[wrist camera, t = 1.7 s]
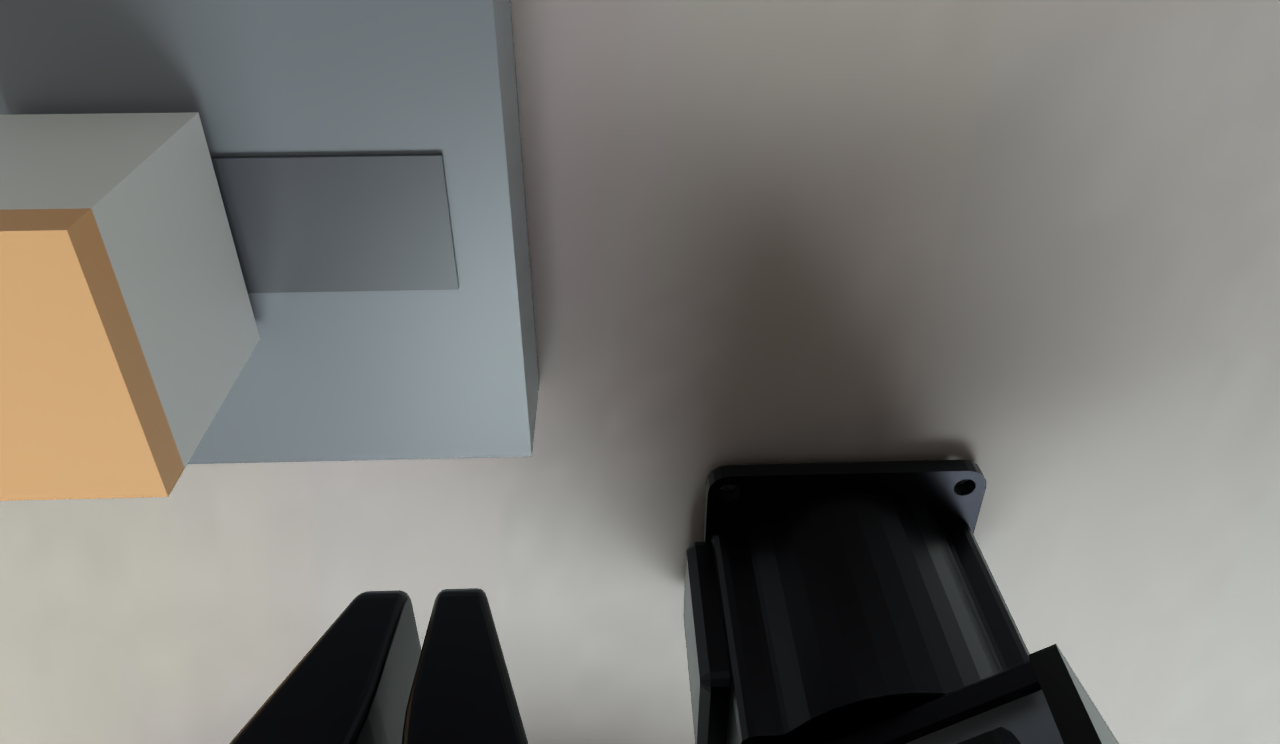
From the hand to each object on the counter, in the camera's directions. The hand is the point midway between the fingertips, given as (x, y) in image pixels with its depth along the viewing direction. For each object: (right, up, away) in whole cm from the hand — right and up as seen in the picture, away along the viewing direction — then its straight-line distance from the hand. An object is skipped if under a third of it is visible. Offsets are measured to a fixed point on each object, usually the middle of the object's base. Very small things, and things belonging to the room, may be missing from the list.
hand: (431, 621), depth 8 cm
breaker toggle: (-6, +4, +7) cm, 10 cm away
